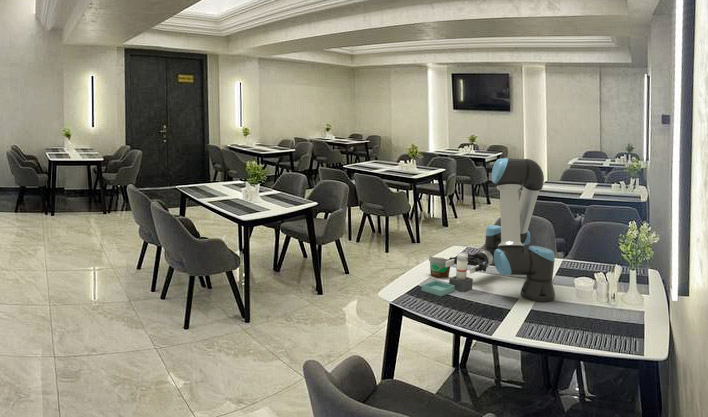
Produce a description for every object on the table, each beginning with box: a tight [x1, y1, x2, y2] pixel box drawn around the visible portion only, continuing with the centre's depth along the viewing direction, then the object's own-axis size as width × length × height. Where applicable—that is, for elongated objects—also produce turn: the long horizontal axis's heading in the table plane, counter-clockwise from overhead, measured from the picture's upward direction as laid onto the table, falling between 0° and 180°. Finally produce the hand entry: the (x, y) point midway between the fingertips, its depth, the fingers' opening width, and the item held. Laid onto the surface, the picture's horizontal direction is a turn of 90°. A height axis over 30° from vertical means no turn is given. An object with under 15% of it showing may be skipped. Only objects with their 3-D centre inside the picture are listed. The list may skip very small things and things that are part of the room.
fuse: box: [455, 252, 469, 281], centre depth 277 cm, size 5×5×15 cm
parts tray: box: [421, 279, 456, 297], centre depth 275 cm, size 11×11×3 cm
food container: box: [428, 254, 451, 279], centre depth 296 cm, size 12×6×10 cm, turn 62°
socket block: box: [448, 275, 474, 293], centre depth 280 cm, size 8×8×5 cm
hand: (458, 267), depth 276 cm, fingers open, 13 cm apart
